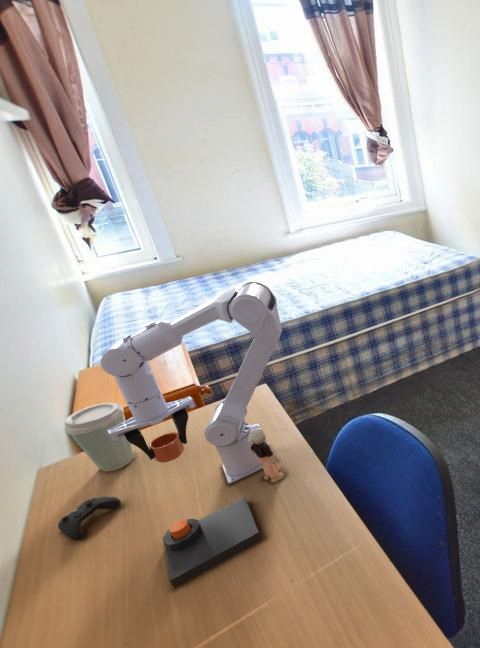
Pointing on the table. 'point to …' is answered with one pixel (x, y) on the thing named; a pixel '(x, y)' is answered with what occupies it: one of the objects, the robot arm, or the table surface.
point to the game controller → (85, 515)
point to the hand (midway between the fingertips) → (168, 449)
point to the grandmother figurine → (264, 455)
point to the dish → (167, 447)
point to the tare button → (179, 529)
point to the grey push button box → (210, 541)
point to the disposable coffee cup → (100, 435)
